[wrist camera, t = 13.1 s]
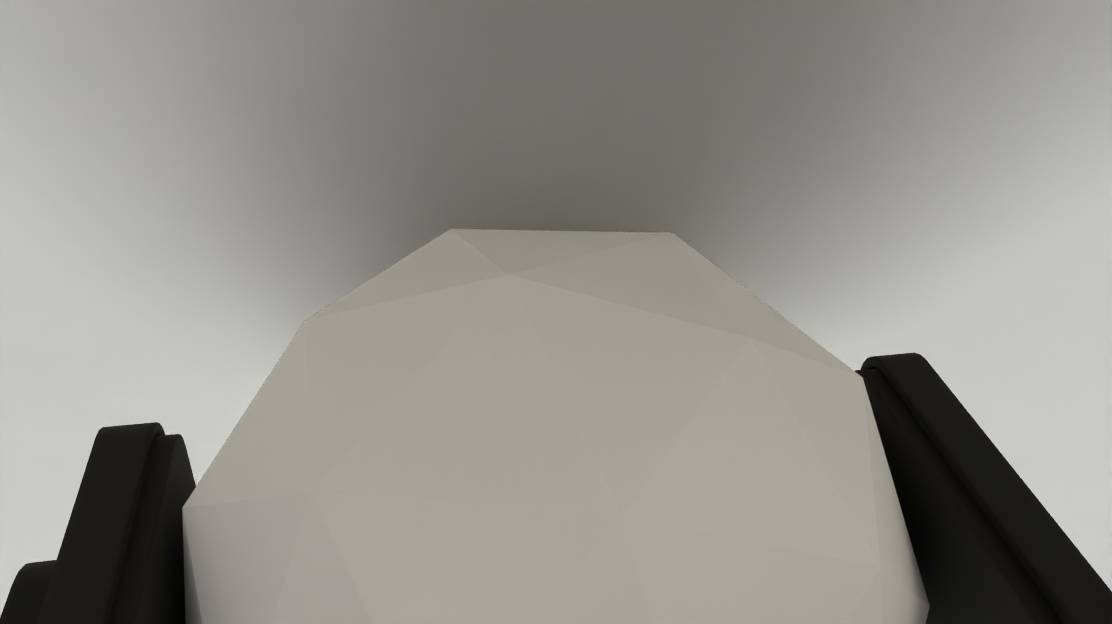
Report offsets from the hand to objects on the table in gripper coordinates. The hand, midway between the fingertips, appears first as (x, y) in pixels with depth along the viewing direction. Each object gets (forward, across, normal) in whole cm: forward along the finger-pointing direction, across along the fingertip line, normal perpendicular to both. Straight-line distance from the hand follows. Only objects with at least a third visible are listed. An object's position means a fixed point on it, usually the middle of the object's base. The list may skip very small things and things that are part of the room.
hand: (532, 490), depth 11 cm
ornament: (+3, 0, 0) cm, 3 cm away
